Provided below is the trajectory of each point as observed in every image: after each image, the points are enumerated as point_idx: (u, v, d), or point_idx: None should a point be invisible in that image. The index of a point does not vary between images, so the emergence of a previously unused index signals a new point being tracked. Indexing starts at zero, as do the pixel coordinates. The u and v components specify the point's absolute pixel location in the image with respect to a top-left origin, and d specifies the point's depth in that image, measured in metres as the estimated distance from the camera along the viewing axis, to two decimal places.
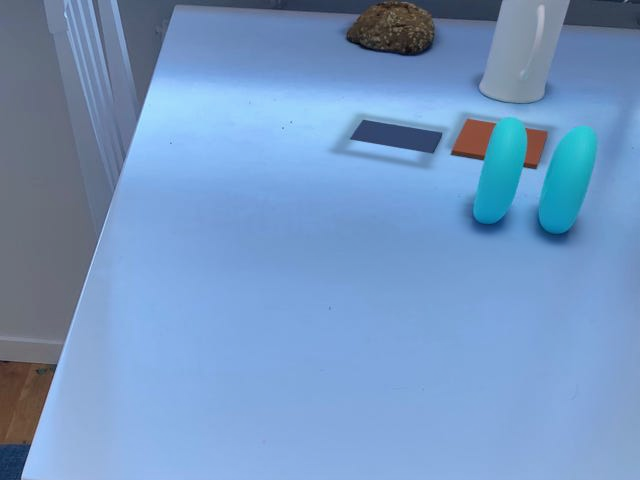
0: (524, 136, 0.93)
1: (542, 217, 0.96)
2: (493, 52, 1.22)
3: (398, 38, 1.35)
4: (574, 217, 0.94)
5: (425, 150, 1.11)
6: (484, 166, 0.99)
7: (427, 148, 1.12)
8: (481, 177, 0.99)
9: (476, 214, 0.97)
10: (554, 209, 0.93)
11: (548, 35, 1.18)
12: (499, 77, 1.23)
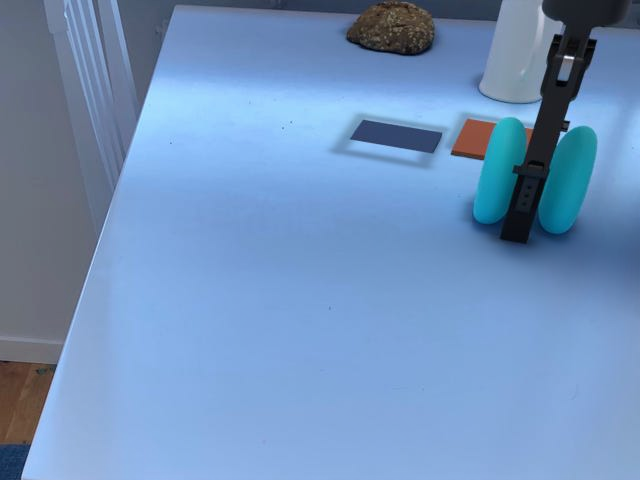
0: (524, 136, 0.93)
1: (542, 217, 0.96)
2: (493, 52, 1.22)
3: (398, 38, 1.35)
4: (574, 217, 0.94)
5: (425, 150, 1.11)
6: (484, 166, 0.99)
7: (427, 148, 1.12)
8: (481, 177, 0.99)
9: (476, 214, 0.97)
10: (554, 209, 0.93)
11: (548, 35, 1.18)
12: (499, 77, 1.23)
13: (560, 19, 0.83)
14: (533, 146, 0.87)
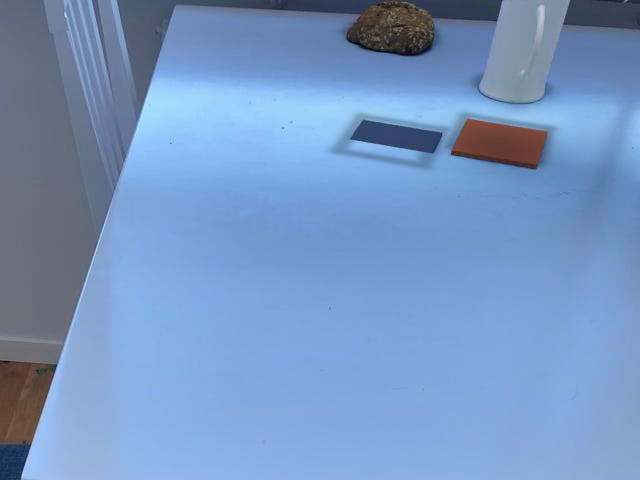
0: None
1: None
2: (493, 52, 1.22)
3: (398, 38, 1.35)
4: None
5: (425, 150, 1.11)
6: None
7: (427, 148, 1.12)
8: None
9: None
10: None
11: (548, 35, 1.18)
12: (499, 77, 1.23)
13: None
14: None
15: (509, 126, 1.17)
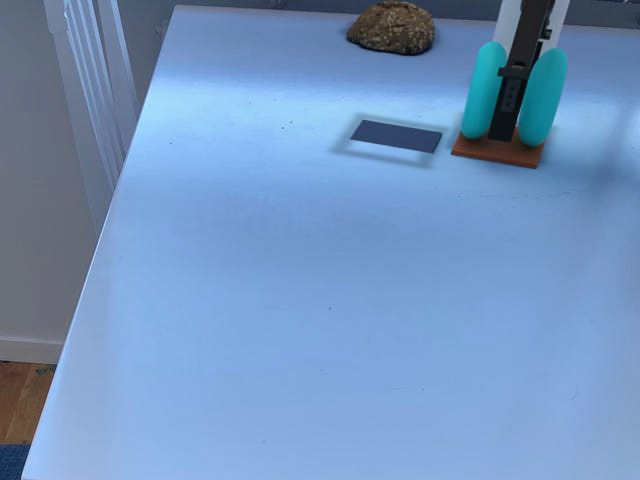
0: (504, 57, 1.07)
1: (521, 130, 1.10)
2: None
3: (398, 38, 1.35)
4: (548, 128, 1.08)
5: (425, 150, 1.11)
6: (470, 88, 1.13)
7: (427, 148, 1.12)
8: (468, 98, 1.14)
9: (463, 128, 1.11)
10: (530, 121, 1.08)
11: None
12: None
13: None
14: (515, 48, 0.99)
15: None
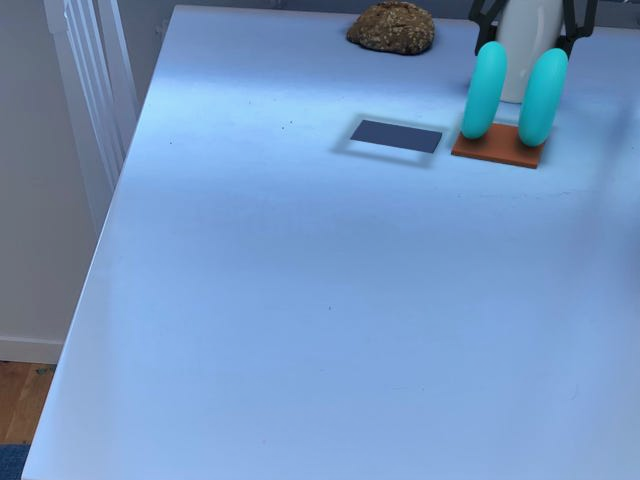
0: (504, 57, 1.07)
1: (521, 130, 1.10)
2: None
3: (398, 38, 1.35)
4: (548, 128, 1.08)
5: (425, 150, 1.11)
6: (470, 88, 1.13)
7: (427, 148, 1.12)
8: (468, 98, 1.14)
9: (463, 128, 1.11)
10: (530, 121, 1.08)
11: (549, 35, 1.18)
12: None
13: None
14: None
15: (509, 126, 1.17)
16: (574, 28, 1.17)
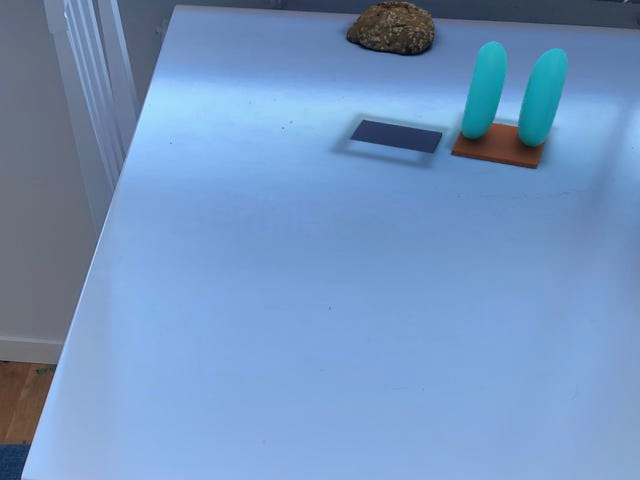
0: (504, 57, 1.07)
1: (521, 130, 1.10)
2: None
3: (398, 38, 1.35)
4: (548, 128, 1.08)
5: (425, 150, 1.11)
6: (470, 88, 1.13)
7: (427, 148, 1.12)
8: (468, 98, 1.14)
9: (463, 128, 1.11)
10: (530, 122, 1.08)
11: None
12: None
13: None
14: None
15: (509, 126, 1.17)
16: None
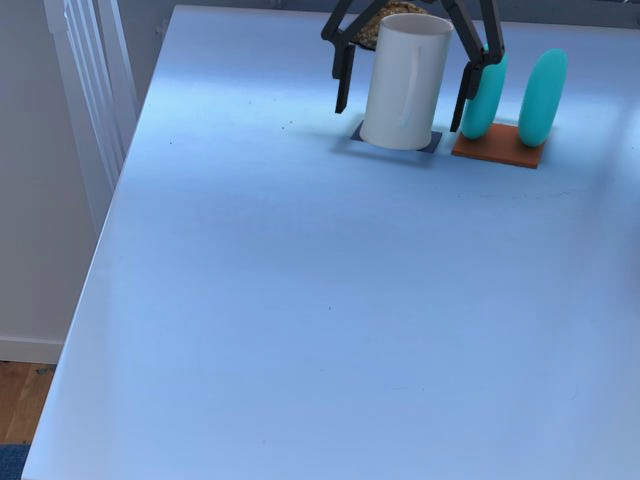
0: (504, 57, 1.07)
1: (521, 130, 1.10)
2: (370, 95, 1.09)
3: None
4: (548, 128, 1.08)
5: (425, 150, 1.11)
6: None
7: (427, 148, 1.12)
8: None
9: (463, 128, 1.11)
10: (530, 122, 1.08)
11: (427, 78, 1.05)
12: (378, 123, 1.10)
13: None
14: None
15: (509, 126, 1.17)
16: (479, 54, 1.02)
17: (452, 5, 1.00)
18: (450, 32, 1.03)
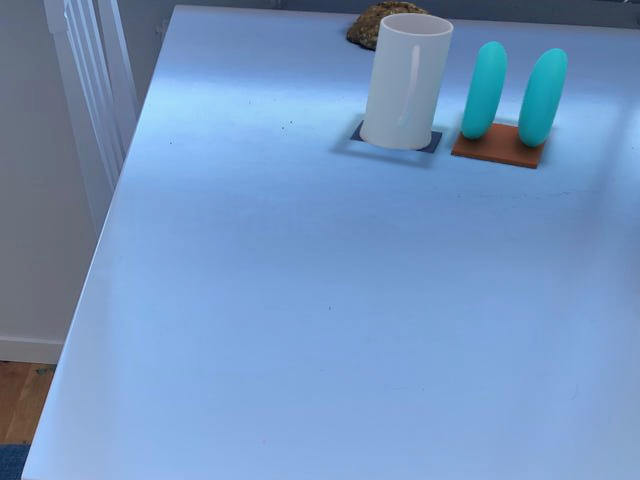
0: (504, 57, 1.07)
1: (521, 130, 1.10)
2: (370, 95, 1.09)
3: None
4: (548, 128, 1.08)
5: (425, 150, 1.11)
6: (470, 88, 1.13)
7: (427, 148, 1.12)
8: (468, 98, 1.14)
9: (463, 128, 1.11)
10: (530, 121, 1.08)
11: (427, 78, 1.05)
12: (378, 123, 1.10)
13: None
14: None
15: (509, 126, 1.17)
16: None
17: None
18: (450, 32, 1.03)
